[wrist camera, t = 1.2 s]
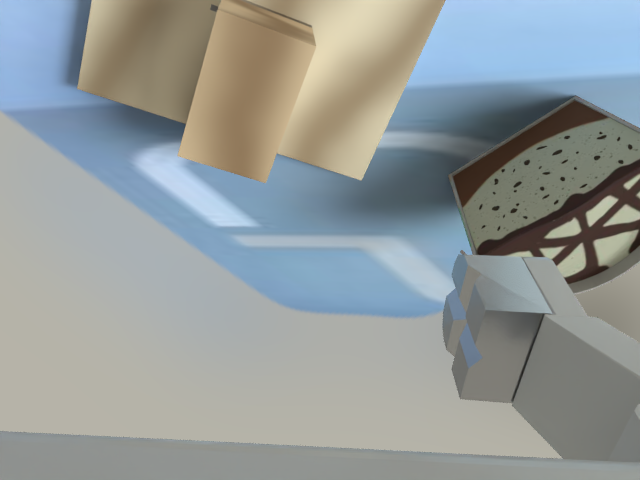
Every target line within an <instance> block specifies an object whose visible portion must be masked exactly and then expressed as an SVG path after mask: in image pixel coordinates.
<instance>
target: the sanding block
mask: <svg viewBox="0 0 640 480" xmlns="http://www.w3.org/2000/svg"><path fill="white" fill-rule="evenodd" d="M315 49H316V43H315V38H314V34H313V29H312V25H309V24H307V23H304V22H301V21H299V20H296V19H294V18H291V17H289V16H286V15H283V14H281V13H278V12H276V11H273V10H270V9H268V8H265V7H263V6H260V5H257V4H255V3H252V2H250V1H247V0H221V3H220V5H219V7H218V10H217V14H216V17H215V21H214V25H213V28H212V32H211V36H210V39H209V43H208V46H207V50H206V54H205V57H204V61H203V65H202V68H201V72H200V76H199V79H198V83H197V87H196V90H195V94H194V98H193V101H192V105H191V109H190V112H189V116H188V119H187V123H186V127H185V130H184V134H183V138H182V141H181V145H180V149H179V152H178V156H179V157H182V158H186V159H189V160H192V161H195V162H199V163H202V164H205V165H208V166H212V167H215V168H218V169H221V170H225V171H228V172H231V173H234V174H238V175H241V176H244V177H247V178H251V179H254V180H257V181H260V182H264V183H266V181H267V178H268V176H269V173H270V170H271V168H272V165H273V162H274V160H275V157H276V154H277V151H278V149H279V146H280V143H281V141H282V138H283V135H284V133H285V130H286V127H287V124H288V122H289V119H290V116H291V114H292V111H293V108H294V106H295V103H296V100H297V98H298V95H299V92H300V89H301V87H302V84H303V81H304V79H305V76H306V73H307V71H308V68H309V65H310V62H311V60H312V57H313V54H314V52H315Z"/></svg>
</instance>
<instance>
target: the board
mask: <svg viewBox="0 0 640 480" xmlns="http://www.w3.org/2000/svg"><path fill="white" fill-rule="evenodd" d="M247 1H250V2H252V3H255V4H257V5H260V6H263V7H265V8H268V9H270V10H273V11H276V12H278V13H281V14H283V15H286V16H289V17H291V18H294V19H296V20H299V21H301V22H304V23H307V24H309V25H312V29H313V34H314V38H315V43H316V49H315V52H314V54H313V57H312V60H311V62H310V65H309V68H308V71H307V73H306V76H305V79H304V81H303V84H302V87H301V89H300V92H299V95H298V98H297V100H296V103H295V106H294V108H293V111H292V114H291V116H290V119H289V122H288V124H287V127H286V130H285V133H284V135H283V138H282V141H281V143H280V146H279V149H278V151H277V153H278V154H281V155H284V156H287V157H290V158H293V159H296V160H299V161H302V162H306V163H309V164H312V165H315V166H318V167H321V168H324V169H327V170H330V171H333V172H337V173H340V174H343V175H346V176H349V177H352V178H355V179H358V180H361V181H362V178H363V176H364V174H365V172H366V170H367V168H368V165H369V163H370V161H371V159H372V157H373V155H374V153H375V150H376V148H377V146H378V144H379V142H380V140H381V138H382V135H383V133H384V131H385V129H386V127H387V125H388V123H389V120H390V118H391V116H392V114H393V112H394V110H395V108H396V105H397V103H398V101H399V99H400V97H401V95H402V93H403V90H404V88H405V86H406V84H407V82H408V80H409V78H410V75H411V73H412V71H413V69H414V67H415V65H416V62H417V60H418V58H419V56H420V54H421V52H422V50H423V47H424V45H425V43H426V41H427V39H428V37H429V35H430V32H431V30H432V28H433V26H434V24H435V22H436V20H437V17H438V15H439V13H440V11H441V9H442V7H443V5H444V2H445V0H247ZM220 3H221V0H92V2H91V8H90V14H89V20H88V27H87V33H86V39H85V45H84V51H83V57H82V63H81V69H80V75H79V81H78V87H77V89H79V90H82V91H85V92H89V93H92V94H95V95H98V96H101V97H104V98H107V99H110V100H113V101H116V102H120V103H123V104H126V105H129V106H132V107H135V108H138V109H141V110H144V111H147V112H151V113H154V114H157V115H160V116H163V117H166V118H169V119H172V120H175V121H178V122H182V123H185V124H186V123H187V119H188V116H189V112H190V109H191V105H192V101H193V98H194V94H195V90H196V87H197V83H198V79H199V76H200V72H201V68H202V65H203V61H204V57H205V54H206V50H207V46H208V43H209V39H210V36H211V32H212V28H213V25H214V21H215V17H216V14H217V10H218V7H219V5H220Z"/></svg>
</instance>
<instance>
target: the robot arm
mask: <svg viewBox="0 0 640 480" xmlns="http://www.w3.org/2000/svg"><path fill="white" fill-rule="evenodd" d="M452 278H453V281H454V284H455V287H456V288H455V289H454V290H453V291H452V292H451V293H450V294H449V295H447V297H446V301H445V306H444V311H443V336H444V342H445V346H446V350H447V351H449V352H450V353H451V354H452V355H453V356H454V357H455V358H454V361H453V365H452V372H453V376H454V379H455V383H456V386H457V390H458V393H459V397H460V399H465V400H479V401H490V402H503V403H513V404H512V406H513V407H514V408H515V409H516V410H517V411H518V412H519V413H520V414H521V415H522V416H523V417H524V419H525V420H526V421H527V422H528V423H529V424H530V425H531V426H532V427H533V428H534V429H535V430H536V431H537V432H538V433H539V434H540V435H541V436H542V437H543V438H544V439H545V440H546V441H547V442H548V443H549V444H550V445H551V446H552V447H553V449H554V450H555V451H557V453H558V454H559V455H560V456H561V457H562V458H563V459H557V458H555V459H554V458H536V457H513V456H492V455H472V454H452V453H432V452H412V451H411V452H410V451H392V450H373V449H352V448H333V447H332V448H331V447H313V446H293V445H292V446H291V445H272V444H253V443H234V442H214V441H192V440H172V439H150V438H130V437H110V436H88V435H68V434H67V435H66V434H47V433H46V434H45V433H27V432H7V431H0V480H640V343H638V342H637V341H636V340H634V339H632V338H631V337H629V336H627V335H626V334H624V333H622V332H620V331H619V330H617V329H616V328H614V327H613V326H611V325H609V324H608V323H606V322H604V321H603V320H601V319H599V318H598V317H588V316H587V314H586V313H585V311H584V309H583V308H582V306H581V305H580V303H579V301H578V300H577V298H576V297H575V295H574V294H573V292H572V290H571V289H570V287H569V286H568V284H567V282H566V281H565V279H564V278H563V276H562V274H561V273H560V271H559V270H558V268H557V266H556V265H555V263H554V262H553V260H551V259H549V258H547V257H513V256H487V255H458V257H457V259H456V261H455V264H454V268H453V271H452Z"/></svg>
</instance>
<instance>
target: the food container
mask: <svg viewBox="0 0 640 480" xmlns="http://www.w3.org/2000/svg"><path fill="white" fill-rule="evenodd" d="M448 177H449V180H450V183H451V186H452V189H453V193H454V196H455V199H456V202H457V205H458V209H459V212H460V215H461V218H462V221H463V225H464V228H465V231H466V234H467V237H468V241H469V244H470V247H471V250H472V253H473V255H487V256H513V257H547V258H549V259H551V260H553V262H554V263H555V265H556V266H557V268H558V270H559V271H560V273H561V274H562V276H563V278H564V279H565V281H566V282H567V284H568V286H569V287H570V289H571V290H572V292H573V294H574V295H575V294H579V293H583V292H586V291H589V290H592V289H595V288H598V287H600V286H602V285H604V284H606V283H609V282H611V281H613V280H615V279H616V278H618V277H620V276H621V275H623V274H625V273H626V272H628V271H629V270H631V269H632V268H633V267H635V266H636V265H637V264H639V263H640V128H638V127H636V126H634V125H632V124H630V123H628V122H627V121H625V120H623V119H621V118H619V117H617V116H615V115H613V114H611V113H609V112H607V111H605V110H603V109H601V108H599V107H597V106H595V105H593V104H591V103H589V102H587V101H585V100H584V99H582V98H580V97H578V96H574V97H573V98H571V99H569V100H568V101H566V102H565V103H563V104H561V105H560V106H558V107H557V108H555V109H553V110H552V111H550V112H549V113H547V114H545V115H544V116H542V117H541V118H539V119H537V120H536V121H534V122H533V123H531V124H529V125H528V126H526V127H525V128H523V129H521V130H520V131H518V132H517V133H515V134H513V135H512V136H510V137H509V138H507V139H505V140H504V141H502V142H501V143H499V144H497V145H496V146H494V147H492V148H491V149H489V150H488V151H486V152H484V153H483V154H481V155H480V156H478V157H476V158H475V159H473V160H472V161H470V162H468V163H467V164H465V165H464V166H462V167H460V168H459V169H457V170H456V171H454V172H452V173H451V174H449V175H448ZM460 253H461V254H462V255H467V254H466V253H465V252H464V251H463V250H461V251H460Z"/></svg>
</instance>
